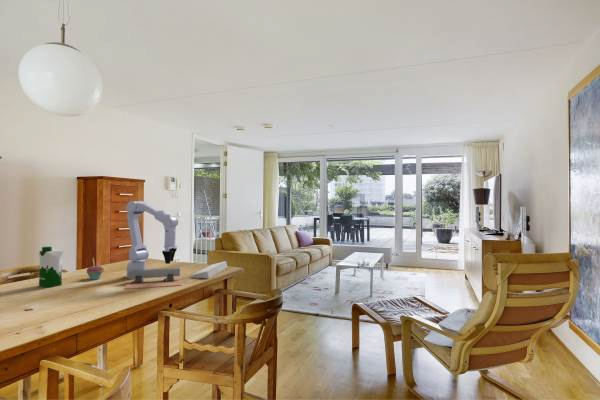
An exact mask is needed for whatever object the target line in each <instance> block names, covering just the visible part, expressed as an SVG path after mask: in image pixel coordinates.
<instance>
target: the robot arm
mask: <svg viewBox="0 0 600 400" xmlns="http://www.w3.org/2000/svg"><path fill="white" fill-rule="evenodd" d="M125 208H126V213H127V214H126V219H127V223H128V228H129V229H128V230H129V236H130V240H131V245H132V246H131V247H130V248H129V250H128V252H129V253H128V259H129V260H130V261H129V262H128V263H127V265H126V276H125V277H126V278H128V271H129V270H141V269H146V263H147V262H146V261H147V259H148V258H149V257H150V252H149V250H148V249H147V245H145V244H144V243H143V239H142V235H141V234H142V233H141V229H140V223H139V217H140V216H141V215H142V214H143V213H145V212H146V213H149V214H150V215H151V216H153V218H154V219H155V220H157V221H158V222H159V223H161V224H162V226H163V229H164V246H163V249H164V250H162V251H161V253H162V255H163V257H164V263H165V265H169V264H171V262H173V261H174V257H175V254H176V252H177V249H178V245H176V235H177V233H176V232H177V226H178V224H179V219H178V218H177V217H176V216H171V214H168V213H167V212H165V210H164V209H163V210H162V209H161V210H157V209H156V208H154V207H153V206H151V205H150V204H149V202H146V201H144V200H140V201H139V200H130V201H129V202H128V203H126V206H125Z"/></svg>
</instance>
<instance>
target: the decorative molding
mask: <svg viewBox="0 0 600 400" xmlns="http://www.w3.org/2000/svg"><path fill="white" fill-rule="evenodd" d="M226 269H228V264H227V261H225V260H224V261H221V262H216V263H212V264H211V265H208V266H206V267H205V268H202V269H200V270H198V271H195V272H194V273H192V274H191V278H192V279H204V278H209V279H211V278H213V277H214V276H216V275H217V274H220V273H221V272H222V271H224V270H226ZM212 276H213V277H212Z"/></svg>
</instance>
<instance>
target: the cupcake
mask: <svg viewBox="0 0 600 400" xmlns="http://www.w3.org/2000/svg"><path fill="white" fill-rule="evenodd" d="M92 264H93V265H92V266H90V267H88V268H87V269H86V274H87V275H88V277H89V279H90V280H99V279H100V278H101V275H102V273H104V272H105V269H104V267H102V266H101V265H95V264H96V263H95V258H94V257H92Z"/></svg>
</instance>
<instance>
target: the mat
mask: <svg viewBox="0 0 600 400" xmlns="http://www.w3.org/2000/svg"><path fill="white" fill-rule="evenodd" d="M179 286H182V281H181V280H179V281H178V280H176V281H175V280H174V282H166V281H161V282H160V281H159V282H145V283H144V282H143V283H141V284H134V283H126V285H125V287H124V290H133V289H150V288H165V287H166V288H167V287H179Z"/></svg>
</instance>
